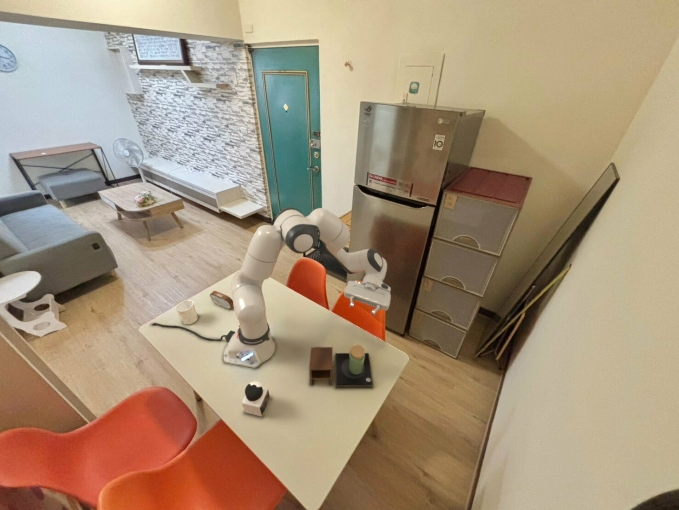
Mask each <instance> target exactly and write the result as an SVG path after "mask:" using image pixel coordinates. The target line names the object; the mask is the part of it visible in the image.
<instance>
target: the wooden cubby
mask: <svg viewBox="0 0 679 510" xmlns="http://www.w3.org/2000/svg"><path fill="white" fill-rule="evenodd" d="M333 352H334V351H333V347H332V346H311V347H310V354H309V355H310V358H309V359H310V360H309V369H308V371H309V385H313V380H329V385H333V370H334V369H333V363H334V361H333V360H334V359H333V357H334V356H333V354H334V353H333Z"/></svg>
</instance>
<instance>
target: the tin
mask: <svg viewBox="0 0 679 510" xmlns="http://www.w3.org/2000/svg"><path fill="white" fill-rule="evenodd" d="M209 297H210V300H211V301H212V302H213V303H214V304H216V305H217V306H219V307H222V308H224V309H227V310H231V309H233V308H234V304H233V298H231V297H230V296H229V295H226V294H225V293H222V292H220V291H217V290H213V291H212V292H211V293H210V294H209Z"/></svg>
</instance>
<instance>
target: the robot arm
mask: <svg viewBox="0 0 679 510" xmlns="http://www.w3.org/2000/svg"><path fill="white" fill-rule="evenodd" d="M350 238H351V231H350V228H349V226H348V225H347V224H346V223H345V222H344V221H343V220H342V219H341V218H340V217H339V216H337V215H336V214H334V213H332V212H331V211H329V210H328V209H326V208H323V207H318V208H316V209H313V210H312V211H311V212H310V213H309V215H306V216H304V214H303V213H302V212H301V211H300V210H299V209H297V208H295V207H292V206H287V207H284V208H282V209H281V210H280V211H278V213H277V214H276V215H275V217H274V218H273V219H272V220H271V225H270V224H264V225H260V226H259V227H258V228H257V229H256V230H255V232H254V234H253V236H252V238H251V240H250V242H249V244H248V247H247V250H246V253H245V256H244V258H243V261H242V264H241V267H240V268H239V270H238V271H237V272H236V273H235V274H234V275H233V277H232V278H231V285H230V286H231V287H230V289H231V295H232V300H233V304H234V307H233V310H234V314H235V316H236V319H237V321H238V327H239V328H238V329H237V331H235V330H230V331H229V332H228V333H227V334H223V335H221V336H220V338H217V339H214V338H209V337H206V336H202V335H200V334H199V333H197V332H196V331H193V330H191V329H189V328H187V327H185V326H180V325H170V324H169V325H167V324H162V323H158V322H154V323H152V324H151V325H152V326H160V327H164V328H177V329H181V330H185V331H187V332H190V333H192V334H194V335H195V336H196V337H199V338H200V339H202V340H207V341H210V342H211V341H213V342H221V341H222V340H223V338H224V340H225V342H226V343H227V344H226V346H225V348H224V350H223V361H224V363H225V364H230V365H235V366H241V367H247V368H251V369H256V368H258V367H259V366H260V365H261V364H262V363H264V362H266V361H268V360H269V359H270V358H271V357H272V356H273V355H274V353H275V351H276V343H275V341H274V340H273V338H272V336H271V335H272V334H271V328H270V325H269V322H268V319H267V309H266V308H267V307H266V301H265V298H264V293H263V283H264V281H265V280H269V278H271V276H272V274H273V271H274V269H275V266H276V264H277V261H278V259H279V256H280V252H281V251H282V250H283V248H284V247H285V246H287V248H288V249H289V250H290V251H291V252H293V253H295V254H300V255H301V254H305V253H308V252H309V251H310V250H312V249H313V248H314V247H315V246H316V244H317V243H318V242H319V241H322V243H324V247H325V250H326V251H327V253H328V254H330V255H331V257H332V258H334V260H335V261H336V262H338V264H339V265H340V266H341V268H342V270H343V271H344V272H345V273H347V274H348V275H355V274H357V273H362V272H365V275H364V277H363V279H362V282H361V281H357V280H355V279H352V280H348V282H347V283H346V287H345V288H344V290H343V296H344V298H347V299H349V308H352V309H353V308H354V307H355V301H356V302H358V303H361V304H364V305H367V306H370V307H373V308H371V309H372V310H371V313H370V315H371V316H375V315H376V313H378V312H379V311H380V310H381V311H385V312H387V311H388V310H389V308H390V306H391V305H390V304H391V299H392V298H391V297H392V295H391V291H392V288H391V287H390V286H389V285H388V284H386V283H384V280H385V278H386V275H387V271H388V262H387V260H386V259H385V258H384V257H383V256H382V255H381V254H380V253H379V252H378V251H377V250H376V249H374V248H366V249H362V250H358V251H353V252H347V251H346V250H345V249H344V248H345V247H346V246H347V245H348V243H349V241H350ZM374 308H375V309H374Z"/></svg>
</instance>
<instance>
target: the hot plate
mask: <svg viewBox="0 0 679 510" xmlns="http://www.w3.org/2000/svg"><path fill="white" fill-rule="evenodd" d="M349 353H350V352H335V355H334V356H335V360H334V361H335V365H334V366H335V389H373V386H374V385H373V377H372V370H371V362H370V353H368V352H365V359H364V366H363V371H362V372H361V373H360V374H352V373H351V372H350V371H349V369H348V364H349Z"/></svg>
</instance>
